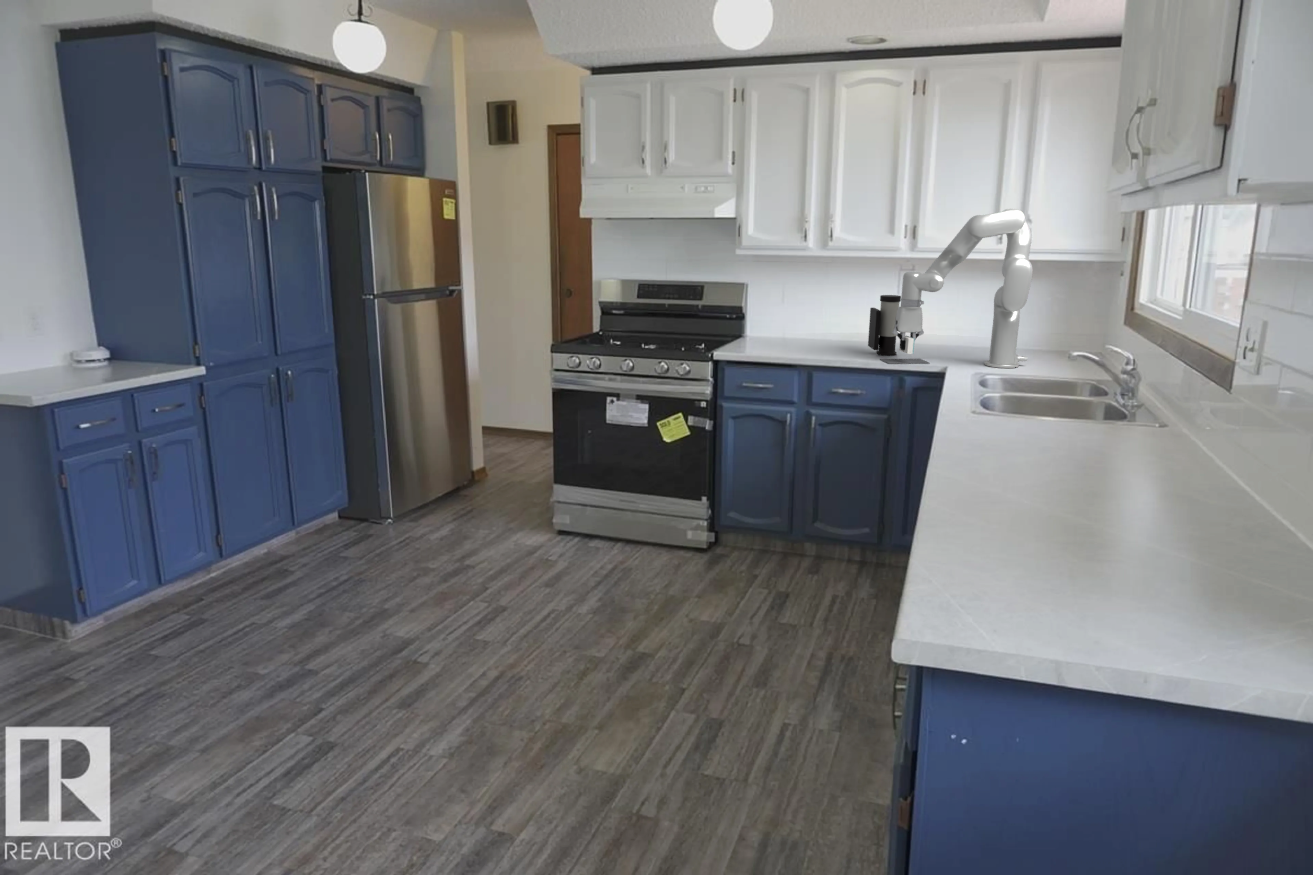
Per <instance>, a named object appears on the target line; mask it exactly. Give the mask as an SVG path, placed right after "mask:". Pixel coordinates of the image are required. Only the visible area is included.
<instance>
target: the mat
mask: <svg viewBox="0 0 1313 875" xmlns="http://www.w3.org/2000/svg"><path fill="white" fill-rule="evenodd" d="M879 361H881V362H883V363H885V364H887V365H906V364H908V365H911V364H912V365H916V364H919V365H923V364H925V365H926V364H930V361H927V360H925V359H922V358H879Z"/></svg>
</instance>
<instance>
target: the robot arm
mask: <svg viewBox="0 0 1313 875" xmlns="http://www.w3.org/2000/svg"><path fill="white" fill-rule="evenodd" d="M1003 235H1006V238H1007V239H1006V240H1007V241H1006V249H1005V254H1004V259H1003V263H1002V266H1001V275H1002V276H1003V278H1004V280H1003V285H1002V286H1000V287H999V288H998V289H997V290H996V292H995V294H994V299H993V318H992V327H991V339H990V345H989V346H990V348H989V358H988V360H985V361H984V365H985V366H988V367H991V368H992V367H993V368H1000V369H1014V368H1015V367H1016V368H1018V367H1019V365H1020V364H1019V363H1020V362H1027V361H1028V356H1026V355H1025V356H1023V355H1022V356H1020V355H1018V354H1017V344H1018V337H1019V326H1020V319H1021V317H1020V314H1021V309H1023V308H1024V307H1025V305H1026V303H1027V301H1028V297H1029V293H1030V288H1031V283H1032V280H1033V279H1032V278H1033V272H1034V271H1033V265H1032V263H1031V261H1030V260H1029V258H1030V252H1031V246H1032V231H1031V228H1030V226H1029V224H1028V222H1027V220H1026V215H1025V214H1024V212H1023V211H1021V209H1018V208H1006V209H1004V210H1002V211H998V212H993V213H987V214H977V215H973V216H971V217H970V218H969V219H968V220H967V222H966V223H965V224H964V226H962V228H961V229H960V230H959V231H958V233H957V234H956V236H954V238H953V239H952V240H951V242H949V243H948V245H947V246H946V247H945V248H944V250H942V252H941V254H939V255H938V256H937V258H936V259H935V260H934V261H933V262H932V263H931V265H930V266H929V267H928V269H926V271H925V272H924V273H921V272H919V271H906V272H903V276H902V287H901V301H900V306H899V307H898V310H897V314H896V318H895V325H894V330H893V332H892V333H893V334H895V335H897V336H896V337H897V338H898V339H899V347H900V348H901V350H905V343H906V341H905V336H906V334H907V333H908V334H909V333H910V336H909V337H911V338H914V339H915V341H916V339H917V338H918V337H919V336H922V335H924V333H925V332H924V329H923V309H922V305H924V304H925V301H924V300H922V291H923V292H930V293H936V292H939V291H940V290H942V288H943V287H944V284H945V281H944V280H945V279H946V277H947V276H948V274H949V273H950V272H951V271H952V270H954V269H955V267H957V266H958V265H959V264H961V263H963V261H965V260H966V259H967V258H968V257H969V255H970V254H971V253H972V251H973V250H974V249H975V248H976V247H977V246H978V244H979V243H980V242H981V241H982V239H985V238H991V237H993V238H994V237H997V236H1003Z"/></svg>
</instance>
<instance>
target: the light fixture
mask: <svg viewBox="0 0 1313 875" xmlns="http://www.w3.org/2000/svg"><path fill="white" fill-rule="evenodd" d="M879 297H880V298H879V300H880V309H878V308H876V307H870V310H869V311H870V312H869V324H868V325H869V326H868V338H867V339H868V342H867V347H869V348H871V349H872V350H874V351H876V355H877V356H883V357H884V356H885V357H893V356H897V351H896V346H897V345H896V344H897V337H898V336H897V335H895V334H893V333H892V332H893V330H894V325H895V318H896V314H897V310H898V307H900V303H901V297H902V295H897V294H893V295H892V294H883V295H879Z"/></svg>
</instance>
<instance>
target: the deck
mask: <svg viewBox="0 0 1313 875" xmlns="http://www.w3.org/2000/svg"><path fill="white" fill-rule="evenodd" d="M905 341H906V343H905V350H901V348H900V346H899V348H898V351H900V352H902V353H904V354H907V355H914V351H915V342H916V340H915V339H914V338H911V337H910V336H908V335H905Z"/></svg>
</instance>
